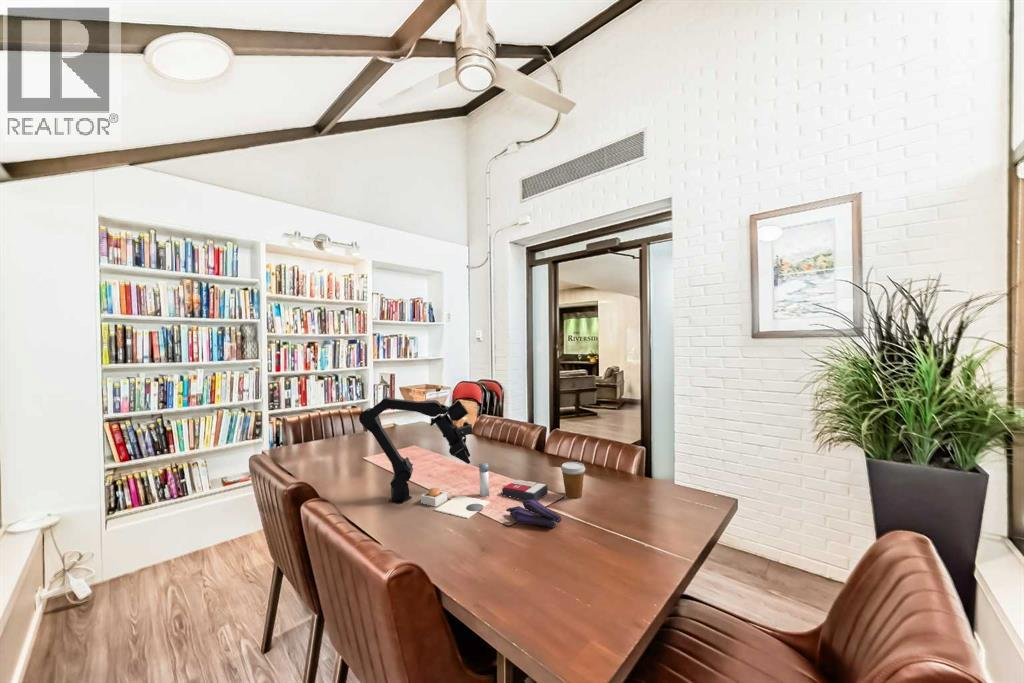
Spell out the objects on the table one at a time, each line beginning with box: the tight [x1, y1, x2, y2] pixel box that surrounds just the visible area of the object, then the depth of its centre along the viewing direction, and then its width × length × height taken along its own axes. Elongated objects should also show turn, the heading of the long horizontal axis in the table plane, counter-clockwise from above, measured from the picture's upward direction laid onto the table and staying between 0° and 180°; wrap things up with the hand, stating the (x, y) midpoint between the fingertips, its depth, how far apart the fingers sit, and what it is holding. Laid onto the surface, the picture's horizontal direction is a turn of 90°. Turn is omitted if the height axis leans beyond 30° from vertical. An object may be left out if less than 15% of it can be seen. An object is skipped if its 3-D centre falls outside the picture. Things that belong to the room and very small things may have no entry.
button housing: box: [420, 490, 448, 508], centre depth 157 cm, size 7×7×3 cm
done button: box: [427, 487, 441, 497], centre depth 157 cm, size 4×4×2 cm
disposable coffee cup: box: [560, 461, 586, 500], centre depth 159 cm, size 10×10×12 cm
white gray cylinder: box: [478, 462, 490, 498], centre depth 162 cm, size 4×4×12 cm
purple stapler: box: [505, 499, 562, 529], centre depth 138 cm, size 7×12×20 cm
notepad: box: [434, 494, 491, 519], centre depth 152 cm, size 16×15×1 cm
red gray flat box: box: [501, 479, 549, 501], centre depth 162 cm, size 11×4×15 cm
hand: (469, 459), depth 163 cm, fingers open, 9 cm apart
